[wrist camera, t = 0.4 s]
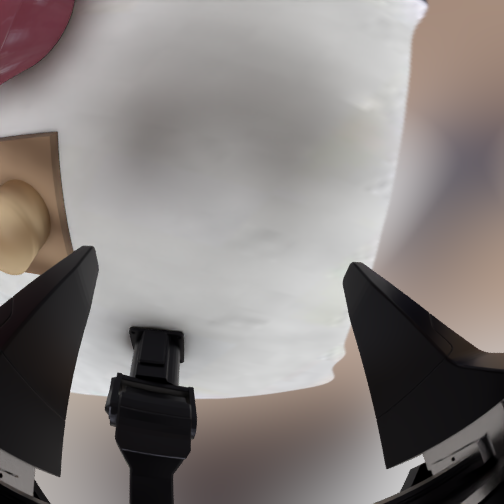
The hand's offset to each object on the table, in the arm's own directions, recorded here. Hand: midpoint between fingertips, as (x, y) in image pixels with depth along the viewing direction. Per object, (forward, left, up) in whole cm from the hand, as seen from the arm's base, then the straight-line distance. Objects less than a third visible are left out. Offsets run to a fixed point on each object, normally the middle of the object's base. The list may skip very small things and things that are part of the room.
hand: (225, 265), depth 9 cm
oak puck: (-6, +18, -11) cm, 22 cm away
